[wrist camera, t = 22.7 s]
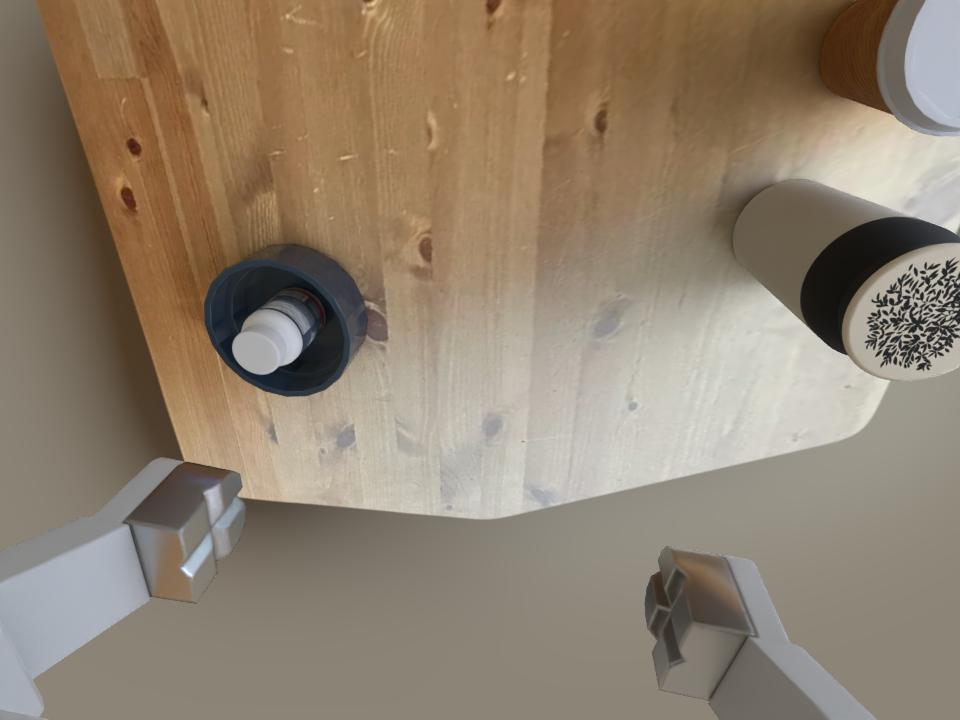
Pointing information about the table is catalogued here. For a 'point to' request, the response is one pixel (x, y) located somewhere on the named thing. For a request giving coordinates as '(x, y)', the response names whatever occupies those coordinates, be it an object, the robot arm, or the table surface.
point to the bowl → (264, 279)
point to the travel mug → (858, 276)
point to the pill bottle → (279, 331)
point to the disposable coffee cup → (899, 61)
